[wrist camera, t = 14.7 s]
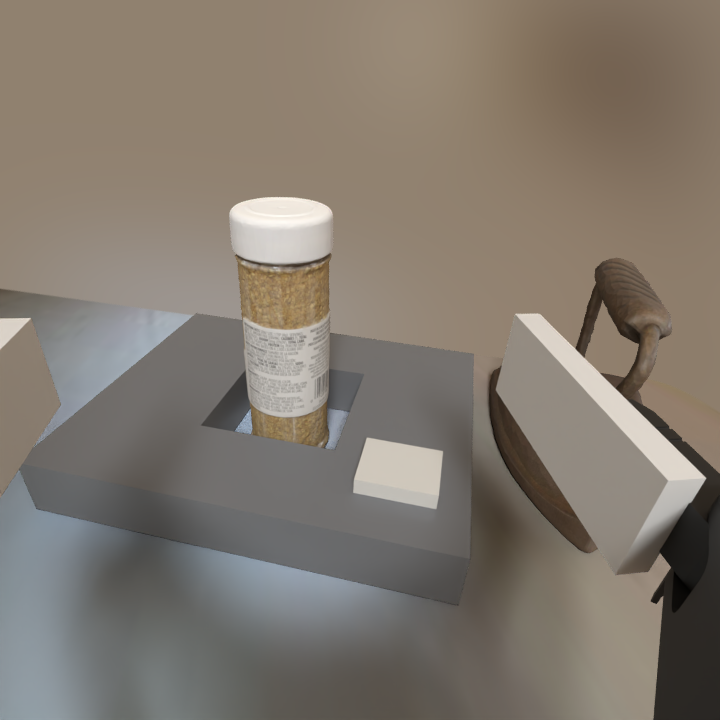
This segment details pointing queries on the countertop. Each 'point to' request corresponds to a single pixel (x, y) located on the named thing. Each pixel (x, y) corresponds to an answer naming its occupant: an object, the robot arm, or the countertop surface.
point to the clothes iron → (634, 321)
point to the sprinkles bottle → (285, 314)
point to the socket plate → (279, 461)
